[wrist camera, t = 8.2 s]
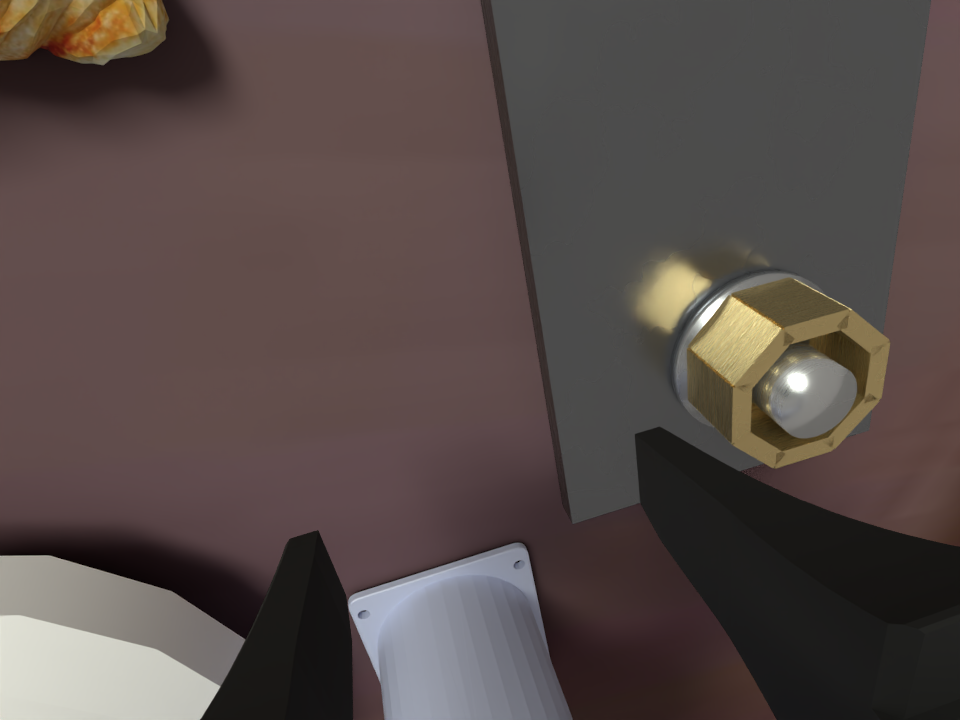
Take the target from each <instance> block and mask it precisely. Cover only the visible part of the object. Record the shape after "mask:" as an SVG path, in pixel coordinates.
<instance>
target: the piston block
mask: <svg viewBox="0 0 960 720" xmlns="http://www.w3.org/2000/svg"><path fill="white" fill-rule="evenodd" d="M930 4H931V0H481V5H482V12H483V18H484V24H485V30H486V36H487V42H488V48H489V55H490V61H491V67H492V73H493V79H494V85H495V91H496V98H497V104H498V110H499V116H500V122H501V128H502V135H503V141H504V147H505V153H506V159H507V165H508V171H509V178H510V184H511V190H512V196H513V202H514V208H515V214H516V221H517V227H518V233H519V239H520V245H521V251H522V258H523V264H524V270H525V276H526V282H527V288H528V294H529V301H530V307H531V313H532V319H533V325H534V331H535V337H536V344H537V350H538V356H539V362H540V368H541V374H542V381H543V387H544V393H545V399H546V405H547V411H548V417H549V424H550V430H551V436H552V442H553V448H554V454H555V460H556V467H557V473H558V479H559V485H560V491H561V497H562V504H563V507H564V509H565V511H566V513H567V515H568V517H569V518H570V520H571V522H572V524H575V523H578V522H581V521H584V520H587V519H590V518H594V517H597V516H600V515H603V514H606V513H609V512H613V511H616V510H619V509H622V508H625V507H628V506H631V505H635V504H638V503H640V495H639V482H638V470H637V458H636V446H635V434H636V433H640V432H643V431H646V430H650V429H653V428H656V427H662V428H664V429H665V430H667V431H669V432H671V433H672V434H674V435H676V436H677V437H679V438H681V439H683V440H684V441H686V442H688V443H689V444H691V445H693V446H695V447H696V448H698V449H700V450H702V451H703V452H705V453H707V454H709V455H710V456H712V457H714V458H716V459H718V460H719V461H721V462H723V463H725V464H727V465H729V466H730V467H732V468H734V469H736V470H738V471H742V470H745V469H748V468H751V467H755V466H758V465H761V464H764V463H763V462H761V461H759V460H757V459H756V458H754V457H752V456H750V455H749V454H747V453H745V452H743V451H742V450H740V449H738V448H736V447H735V446H733V445H732V444H731V443H730V442H729V441H728V440H727V439H726V438H725V437H724V436H723V435H722V434H721V433H720V432H719V431H718V430H717V429H716V428H715V427H714V426H713V425H712V424H711V423H710V422H709V421H708V420H707V419H706V418H705V417H704V416H703V415H702V414H701V413H700V412H699V411H698V410H697V409H696V408H695V407H694V406H693V405H692V404H691V403H690V402H689V401H688V393H687V348H689V347H688V345H689V344H690V342H691V341H692V340H693V339H694V337H695V336H696V335H697V334H698V332H699V331H700V330H701V329H702V327H703V326H704V325H705V324H706V322H707V321H708V320H709V319H710V317H711V316H712V315H713V314H714V312H715V311H716V310H717V309H718V308H719V306H720V305H721V304H722V303H723V301H724V300H725V299H726V298H727V296H728V295H730V296H731V293H733V292H737V291H740V290H744V289H748V288H751V287H755V286H759V285H762V284H766V283H770V282H773V281H777V280H780V279H784V278H788V277H790V278H793V279H795V280H797V281H799V282H801V283H803V284H805V285H807V286H808V287H810V288H812V289H814V290H816V291H818V292H820V293H822V294H824V295H826V296H827V297H829V298H831V299H833V300H835V301H837V302H839V303H841V304H843V305H845V306H846V307H848V308H850V309H852V310H853V311H854V312H856V313H857V314H858V315H859V316H861V317H862V318H863V319H864V320H865V321H867V322H868V323H869V324H870V325H872V326H873V327H874V328H875V329H877V330H878V331H879V332H880V333H881V334H883V330H884V323H885V316H886V309H887V302H888V295H889V288H890V281H891V274H892V267H893V260H894V253H895V247H896V240H897V233H898V226H899V219H900V212H901V205H902V198H903V191H904V184H905V177H906V170H907V163H908V156H909V150H910V143H911V136H912V129H913V122H914V115H915V108H916V101H917V94H918V87H919V80H920V73H921V66H922V59H923V53H924V46H925V39H926V32H927V25H928V18H929V11H930ZM856 393H857V382H856V379H855V377H854V375H853V374H852V372H850V371H849V370H848V369H846V368H845V367H843V366H842V365H840V364H838V363H837V362H835V361H834V360H832V359H831V358H829V357H828V356H826V355H825V354H823V353H821V352H820V351H818V350H817V349H815V348H814V347H812V346H811V345H809V339H808V340H804V341H801V342H797V343H794V344H790V345H789V346H788V348H787V349H786V350H785V351H784V352H783V353H782V355H781V356H780V357H779V358H778V359H777V360H776V362H775V363H774V364H773V365H772V366H771V367H770V369H769V370H768V371H767V372H766V373H765V374H764V376H763V377H762V378H761V379H760V380H759V381H758V383H757V384H756V385H755V386H754V387H753V388H752V403H754V404H755V405H756V406H757V407H758V408H760V409H761V410H762V411H763V412H764V413H765V414H767V415H768V416H769V417H770V418H771V419H772V420H774V421H775V422H776V423H777V424H778V425H779V426H781V427H782V428H783V429H784V430H785V431H786V432H788V433H789V434H790V435H792V436H794V437H797V438H812V437H816V436H819V435H821V434H823V433H826V432H827V431H829V430H831V429H832V428H833V427H835V426H836V425H837V424H838V423H839V422H840V421H841V420H842V419H843V418H844V417H845V416H846V415H847V413H848V412H849V411H850V409H851V407H852V405H853V403H854V401H855V398H856ZM871 413H872V410H871V411H870V412H869V413H868V414H867V415H866V416H865V417H864V418H863V419H862V420H861V422H860V423H859V424H858V425H857V426H856V427H855V428H854V429H853V430H852V431H851V432H850V433H849V434H848V435H847V437H849V436H853V435H856V434H859V433H862V432H865V431H868V430H869V427H870V420H871Z"/></svg>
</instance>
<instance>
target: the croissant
mask: <svg viewBox="0 0 960 720" xmlns="http://www.w3.org/2000/svg"><path fill="white" fill-rule="evenodd" d="M168 21H169V18H168V15H167V13H166V10H165V7H164V5H163V2H162V0H0V61H2V60H19V59H26V58H28V57H29V56H30V55H31V54H32V53H33V52H34V51H36V50H37V49H38V48H43V49H46V50H49V51H50V52H51V53H52V54H54V55H55V56H58V57H61V58H65V59H68V60H72V61H75V62H79V63H82V64H86V63H94V64H99V65H104V64H105V63H107V62H108V61H109V60H111V59H117V58H124V57H134V56H139V55H143V54H146V53H148V52H151V51H152V50H154V49H155V48H156V47H157V46H158V45H159V44H161V43H162V42H163V41H164V40H165V39H166V35H165V32H166V30H167V28H166V25H167V23H168Z"/></svg>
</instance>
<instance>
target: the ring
mask: <svg viewBox="0 0 960 720" xmlns="http://www.w3.org/2000/svg"><path fill="white" fill-rule="evenodd" d="M808 339H809V345H811V346H812V347H814V348H815V349H817V350H818V351H820V352H821V353H823V354H825V355H826V356H828V357H829V358H831V359H832V360H834V361H835V362H837V363H838V364H840V365H842V366H843V367H845V368H846V369H848V370H849V371H850V372H852V374H853V375H854V377H855V379H856V382H857V393H856V398H855V401H854V403H853V405H852V407H851V409H850V411H849V412H848V413H847V415H846V416H845V417H844V418H843V419H842V420H841V421H840V422H839V423H838V424H837V425H836V426H835V427H833V428H832V429H831V430H829V431H827V432H826V433H823V434H821V435H819V436H816V437H812V438H797V437H794V436H792V435H790V434H789V433H788V432H786V431H785V430H784V429H783V428H782V427H781V426H779V425H778V424H777V423H776V422H775V421H774V420H772V419H771V418H770V417H769V416H768V415H767V414H765V413H764V412H763V411H762V410H761V409H760V408H758V407H757V406H756V405H755V404H754V403H752V388H753V387H754V386H755V385H756V384H757V383H758V381H759V380H760V379H761V378H762V377H763V376H764V374H765V373H766V372H767V371H768V370H769V369H770V367H771V366H772V365H773V364H774V363H775V362H776V360H777V359H778V358H779V357H780V356H781V355H782V353H783V352H784V351H785V350H786V349H787V348H788V346H789V345H790V344H794V343H797V342H801V341H804V340H808ZM688 347H689V348H687V393H688V401H689V402H690V403H691V404H692V405H693V406H694V407H695V408H696V409H697V410H698V411H699V412H700V413H701V414H702V415H703V416H704V417H705V418H706V419H707V420H708V421H709V422H710V423H711V424H712V425H713V426H714V427H715V428H716V429H717V430H718V431H719V432H720V433H721V434H722V435H723V436H724V437H725V438H726V439H727V440H728V441H729V442H730V443H731V444H732V445H733V446H735V447H736V448H738V449H740V450H742V451H743V452H745V453H747V454H749V455H750V456H752V457H754V458H756V459H757V460H759V461H761V462H763V463H764V464H766V465H768V466H770V467H772V468H775V469H776V468H779V467H782V466H785V465H788V464H792V463H795V462H798V461H801V460H805V459H808V458H811V457H814V456H817V455H821V454H824V453H827V452H830V451H832V450H833V449H835V448H836V447H837V446H838V445H839V444H840V443H841V442H842V441H843V440H844V439H845V438H846V437H847V435H848V434H849V433H850V432H851V431H852V430H853V429H854V428H855V427H856V426H857V425H858V424H859V423H860V422H861V420H862V419H863V418H864V417H865V416H866V415H867V414H868V413H869V412H870V411H871V410H872V409H873V408H874V407H875V405H876V404H877V403H878V402H879V401H880V400H878V399H881V397H882V391H883V385H884V379H885V372H886V366H887V360H888V354H889V347H890V342H889V339H888V338H886V337H885V336H884V335H883V334H881V333H880V332H879V331H878V330H877V329H875V328H874V327H873V326H872V325H870V324H869V323H868V322H867V321H865V320H864V319H863V318H862V317H861V316H859V315H858V314H857V313H856V312H854V311H853V310H852V309H850V308H848V307H846V306H845V305H843V304H841V303H839V302H837V301H835V300H833V299H831V298H829V297H827V296H826V295H824V294H822V293H820V292H818V291H816V290H814V289H812V288H810V287H808V286H807V285H805V284H803V283H801V282H799V281H797V280H795V279H793V278H790V277H788V278H784V279H780V280H777V281H773V282H770V283H766V284H762V285H759V286H755V287H751V288H748V289H744V290H740V291H737V292H733V293H731V296H730V295H728V296H727V298H726V299H725V300H724V301H723V303H722V304H721V305H720V306H719V308H718V309H717V310H716V311H715V312H714V314H713V315H712V316H711V317H710V319H709V320H708V321H707V322H706V324H705V325H704V326H703V327H702V329H701V330H700V331H699V332H698V334H697V335H696V336H695V337H694V339H693V340H692V341H691V342H690V344H689V345H688Z"/></svg>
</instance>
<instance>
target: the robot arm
mask: <svg viewBox="0 0 960 720" xmlns="http://www.w3.org/2000/svg"><path fill="white" fill-rule="evenodd" d="M635 446H636V458H637V470H638V482H639V495H640V503H641V505H642V507H643V509H644V510H645V512H646V514H647V516H648V518H649V520H650V522H651V524H652V525H653V527H654V529H655V531H656V533H657V534H658V536H659V538H660V540H661V541H662V543H663V544H664V546H665V547H666V548H667V550H668V551H669V553H670V554H671V555H672V557H673V558H674V560H675V561H676V562H677V564H678V565H679V567H680V568H681V569H682V571H683V572H684V574H685V575H686V576H687V578H688V579H689V580H690V582H691V583H692V585H693V586H694V587H695V589H696V590H697V592H698V593H699V594H700V596H701V597H702V598H703V600H704V601H705V603H706V604H707V605H708V607H709V608H710V609H711V611H712V612H713V614H714V615H715V616H716V618H717V619H718V621H719V622H720V624H721V625H722V627H723V628H724V630H725V631H726V633H727V634H728V636H729V637H730V639H731V640H732V642H733V644H734V645H735V647H736V649H737V651H738V652H739V654H740V656H741V657H742V659H743V661H744V663H745V664H746V666H747V668H748V669H749V671H750V673H751V675H752V676H753V678H754V680H755V681H756V683H757V685H758V687H759V689H760V690H761V692H762V694H763V696H764V698H765V699H766V701H767V703H768V705H769V707H770V708H771V710H772V712H773V714H774V715H775V717H776V719H777V720H960V547H958V546H952V545H947V544H943V543H939V542H934V541H930V540H926V539H922V538H918V537H914V536H909V535H905V534H902V533H898V532H894V531H891V530H887V529H883V528H880V527H877V526H874V525H870V524H867V523H864V522H861V521H858V520H854V519H851V518H848V517H845V516H842V515H839V514H837V513H834V512H831V511H828V510H826V509H823V508H820V507H818V506H815V505H813V504H810V503H808V502H805V501H802V500H800V499H797V498H795V497H793V496H790V495H788V494H786V493H783V492H781V491H779V490H777V489H775V488H773V487H771V486H768V485H766V484H764V483H762V482H760V481H758V480H756V479H754V478H752V477H750V476H748V475H746V474H744V473H742V472H740V471H738V470H736V469H734V468H732V467H730V466H729V465H727V464H725V463H723V462H721V461H719V460H718V459H716V458H714V457H712V456H710V455H709V454H707V453H705V452H703V451H702V450H700V449H698V448H696V447H695V446H693V445H691V444H689V443H688V442H686V441H684V440H683V439H681V438H679V437H677V436H676V435H674V434H672V433H671V432H669V431H667V430H665V429H664V428H662V427H656V428H653V429H650V430H646V431H643V432H640V433H636V434H635ZM519 560H521V561H520V562H518V563H515V562H517V561H519ZM348 605H349V611H350V613H351V616H352V618H353V620H354V623H355V625H356V627H357V630H358V632H359V634H360V636H361V639H362V641H363V643H364V646H365V648H366V650H367V653H368V655H369V657H370V660H371V662H372V664H373V667H374V669H375V671H376V674H377V676H378V678H379V680H380V683H381V689H382V699H383V709H384V718H385V720H573V718H572V716H571V713H570V710H569V708H568V705H567V702H566V700H565V697H564V694H563V692H562V689H561V686H560V684H559V681H558V678H557V676H556V673H555V670H554V668H553V665H552V663H551V660H550V655H549V650H548V646H547V641H546V636H545V631H544V626H543V622H542V617H541V612H540V607H539V602H538V598H537V593H536V588H535V583H534V578H533V574H532V569H531V564H530V559H529V555H528V551H527V549H526V547H525V545H524V544H522V543H513V544H509V545H506V546H503V547H500V548H497V549H494V550H490V551H487V552H484V553H481V554H478V555H475V556H471V557H468V558H465V559H462V560H459V561H456V562H453V563H449V564H446V565H443V566H440V567H437V568H434V569H430V570H427V571H424V572H421V573H418V574H415V575H411V576H408V577H405V578H402V579H399V580H396V581H393V582H389V583H386V584H383V585H380V586H377V587H374V588H370V589H367V590H364V591H361V592H358V593H355V594H353V595H352V596H351V597H350V598H349V600H348ZM363 610H367V611H365V612H361V611H363ZM200 720H353V687H352V638H351V629H350V621H349V614H348V606H347V599H346V594H345V592H344V589H343V587H342V585H341V582H340V580H339V578H338V575H337V573H336V571H335V568H334V566H333V564H332V561H331V559H330V557H329V554H328V552H327V550H326V547H325V545H324V543H323V540H322V538H321V536H320V533H319V531H318V530H317V531H314V532H311V533H307V534H304V535H301V536H297V537H294V538H291V539H289V541H288V542H287V544H286V546H285V549H284V552H283V554H282V557H281V560H280V562H279V565H278V567H277V570H276V573H275V575H274V578H273V580H272V582H271V585H270V587H269V590H268V592H267V594H266V597H265V599H264V601H263V603H262V606H261V608H260V610H259V612H258V614H257V617H256V619H255V621H254V623H253V625H252V628H251V630H250V632H249V634H248V636H247V638H246V640H245V642H244V644H243V645H242V647H241V649H240V651H239V653H238V655H237V657H236V659H235V661H234V663H233V665H232V667H231V669H230V671H229V672H228V674H227V676H226V678H225V679H224V681H223V683H222V685H221V686H220V688H219V690H218V692H217V693H216V695H215V697H214V698H213V700H212V701H211V703H210V705H209V706H208V708H207V710H206V711H205V713H204V714H203V716H202V718H201V719H200Z"/></svg>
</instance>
